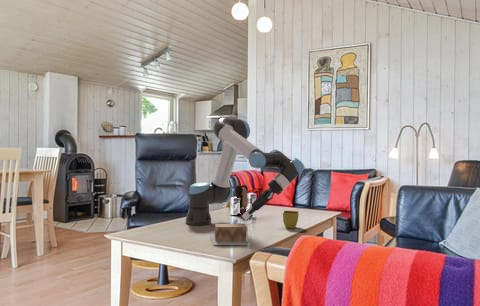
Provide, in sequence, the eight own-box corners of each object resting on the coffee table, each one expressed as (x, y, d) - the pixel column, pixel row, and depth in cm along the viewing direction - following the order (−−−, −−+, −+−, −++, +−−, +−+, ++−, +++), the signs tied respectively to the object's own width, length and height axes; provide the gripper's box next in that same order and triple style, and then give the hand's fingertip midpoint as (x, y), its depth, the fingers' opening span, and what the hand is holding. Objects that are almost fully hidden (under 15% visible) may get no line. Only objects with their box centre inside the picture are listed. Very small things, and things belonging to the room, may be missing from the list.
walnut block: (247, 241, 182) (215, 241, 179) (244, 237, 189) (214, 238, 186) (247, 226, 182) (216, 226, 179) (245, 223, 189) (215, 223, 186)
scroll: (244, 217, 248) (245, 186, 247) (225, 214, 255) (226, 185, 255) (255, 214, 260) (256, 185, 260) (237, 212, 268) (238, 183, 268)
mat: (213, 246, 174) (213, 244, 174) (210, 236, 191) (210, 235, 191) (246, 245, 176) (246, 244, 176) (240, 236, 194) (240, 235, 194)
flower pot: (297, 229, 215) (298, 213, 215) (282, 228, 217) (282, 212, 217) (298, 226, 224) (299, 211, 224) (283, 225, 226) (284, 210, 226)
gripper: (287, 191, 181) (251, 226, 179) (279, 188, 194) (246, 220, 191) (276, 179, 180) (240, 215, 178) (270, 177, 193) (236, 210, 190)
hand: (243, 218), depth 185 cm, fingers closed
